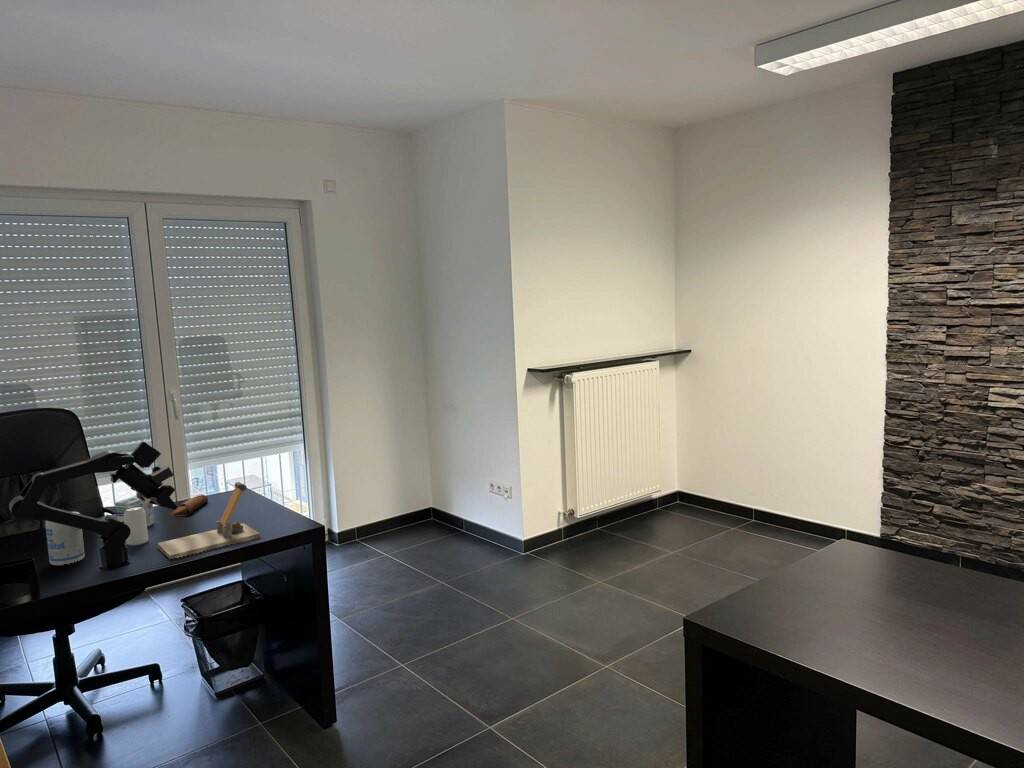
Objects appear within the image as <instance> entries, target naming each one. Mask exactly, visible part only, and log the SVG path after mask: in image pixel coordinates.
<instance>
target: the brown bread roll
mask: <svg viewBox="0 0 1024 768" xmlns="http://www.w3.org/2000/svg"><path fill="white" fill-rule="evenodd" d="M206 502H207V503H208V502H209V498H208V497H207V495H205V494H200V495H196V496H193V497H191V498H190V499H188V500H186V501H184V502H183V503H181V504H180V505H179V506H177V509H176V510H173V511H171V513H170V514H169V515H189V516H190V515H191V514H193V513H194V512H195V511H196V510H197V509H199V508H200V507H201V506H203V505H204V504H206Z"/></svg>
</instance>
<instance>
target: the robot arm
mask: <svg viewBox="0 0 1024 768" xmlns="http://www.w3.org/2000/svg"><path fill="white" fill-rule="evenodd" d="M161 455H162V453H161V452H160V451H159V450H158V449H156V448H154V447H152V446H151V445H149V444H148V443H147V442H145V441H141V442H140V443H139V444H138V446H137V447H136V448H135V449H134V450H133V451H132V452H131V453H127V452H125V453H122V452H121V453H120V452H119V453H118V452H117V451H116V450H113V449H107V450H106V449H105V450H103V451H102V452H101V451H100V452H99V453H97V454H94V455H93V456H92V457H90V458H88V459H86V460H83V461H80V462H79V461H78V462H74V463H72V464H68V465H65V466H62V467H61V466H60V467H59V468H54V469H51V470H47V471H46V470H45V471H44V472H37V473H35V474H34V475H33V476H32V478H31V479H30V481H29V482H28V483H27V484H26V485H25V486H24V488H23V489H22V490H21V491H20V493H19V494H18V496H15V497H13V498H12V499H11V500H10V502H9V504H8V508H9V511H10V513H11V514H12V516H13V517H14V518H15V519H17V520H21V521H22V520H23V521H24V520H25V521H45V520H46V521H50V522H54V523H58V524H62V525H67V526H71V527H75V528H79V529H82V531H83V530H84V531H89V532H92V533H96V534H97V535H100V536H99V538H98V542H99V543H100V545H101V546H102V547H100V548H99V554H100V555H99V557H100V564H98V568H101V569H104V570H108V571H111V570H115V569H119V568H120V567H123V566H127V565H129V564H131V561H129V553H128V552H129V551H128V547H126V542H127V540H126V539H127V538H128V537H129V536H130V533H131V532H130V528H129V526H128V525H127V524H126V523H124V521H123V520H122V519H121V518H120V517H117V516H112V515H110V514H106V515H105V518H96V517H93V516H89V515H84V514H81V513H80V514H77V513H73V512H74V511H68V510H65V509H61V508H56V507H53V506H49V505H47V504H45V503H44V502H42V501H40V499H41V498H42V495H43V493H44V491H45V490H46V488H47V487H49V486H52V485H56V484H59V483H63V482H66V481H67V482H68V481H69V480H73V479H76V478H81V477H83V476H87V475H91V474H101V473H103V474H104V473H109V475H110V482H111V483H112V484H116V483H117V482H118V480H119V481H121V482H122V483H124V484H125V485H126V486H128V487H129V488H130V490H132V491H133V492H136V495H137V498H138V499H139V500H141V501H145V499H149V500H150V502H149V503H150V504H153V506H154V505H155V506H158V507H162V508H166V509H170V510H173V511H174V510H176V509H177V508H178V506H177V505H176V503H175V502H174V501H173V499H172V498H171V496H172V495H173V493H174V492H175V491H176V488H174V487H173V486H172V485H170V484H165V485H164V483H163V482H164V481H165V480H168V479H169V478H172V477H174V475H175V474H174V473H173V471H172V469H171V468H170V466H168V465H167V466H166V465H164V466H161V467H160V466H157V465H156V466H154V467H151V465H153V464H154V463H155V462H156V461H157V459H158V458H159V457H160V456H161ZM136 465H137V466H139V467H140V468H142V469H144V468H145V469H147V468H148V469H149V468H150V467H151V473H150V474H149V473H145V472H144V471H143V470H141V469H140V468H138V467H137V466H136ZM144 498H145V499H144ZM46 521H45V522H46Z"/></svg>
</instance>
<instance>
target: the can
mask: <svg viewBox="0 0 1024 768" xmlns="http://www.w3.org/2000/svg"><path fill="white" fill-rule="evenodd" d="M124 523H126V524H127V525H128V526H129V528H130V532H131V533H130V536H129V537H128V538H127V539H126V544H127V545H128V546H129V547H134V546H135V547H136V546H141V545H144V544H146V543H147V542H148V541H149V532H148V531H149V530H148V527H147V522H146V513H145V510H144V509H143V506H133V507H128V508H126V509H125V512H124Z"/></svg>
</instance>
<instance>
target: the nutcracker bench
mask: <svg viewBox="0 0 1024 768" xmlns="http://www.w3.org/2000/svg"><path fill="white" fill-rule="evenodd" d="M215 523H216V524H215V525H216V529H212V530H208V531H203V532H200V533H196V534H195V533H194V534H191V535H187V536H182V537H178V538H174V539H170V540H165V541H160V542H157V548H158V550H160V551H161V553H163V554H164V555H165V556H166V557H167V558H168V559H169V560H170V559H173V558H177V559H180V558H179V557H181V558H184V557H183V556H185V557H188V556H187V555H189V556H192V554H193V555H196V553H197V554H200V553H199V552H201V553H204V552H203V551H205V552H207V551H206V550H209V551H211V550H210V549H213V548H217V547H221V546H225V545H229V546H231V545H230V544H233V545H237V544H241V543H246V542H249V541H252V540H256V539H257V540H258V539H260V538H261V535H260V532H258V531H257V530H255V529H253V528H252V527H251V526H249V525H247V524H246V523H244V522H241V523H240V522H238V521H236V522H232V524H230V523H229V524H228V525H223V524H221V523H220V520H216V521H215ZM236 543H237V544H236ZM225 547H226V546H225ZM221 548H222V547H221ZM217 549H218V548H217ZM213 550H214V549H213ZM173 560H174V559H173Z"/></svg>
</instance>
